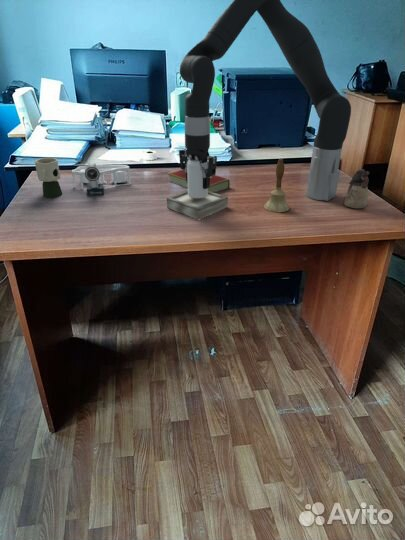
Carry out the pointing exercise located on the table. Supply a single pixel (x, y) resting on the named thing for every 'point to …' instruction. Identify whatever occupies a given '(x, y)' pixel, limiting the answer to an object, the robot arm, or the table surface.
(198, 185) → the can
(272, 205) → the hand bell
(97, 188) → the watch
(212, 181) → the hardcover book
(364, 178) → the figurine
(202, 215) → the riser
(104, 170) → the skeletal toy car
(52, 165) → the character mug
